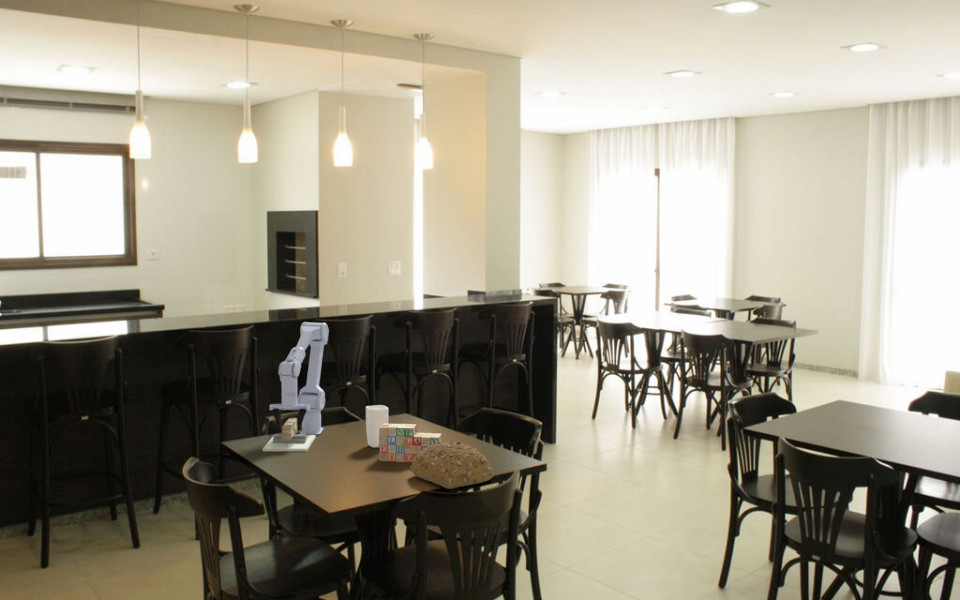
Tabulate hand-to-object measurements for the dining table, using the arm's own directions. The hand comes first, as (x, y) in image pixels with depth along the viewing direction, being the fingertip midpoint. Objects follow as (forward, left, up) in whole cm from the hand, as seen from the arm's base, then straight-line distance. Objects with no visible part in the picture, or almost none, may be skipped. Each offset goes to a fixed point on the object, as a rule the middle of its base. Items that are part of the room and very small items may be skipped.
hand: (289, 428), depth 305 cm
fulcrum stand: (0, 0, -6) cm, 6 cm away
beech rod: (0, 0, -2) cm, 2 cm away
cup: (+3, +33, -6) cm, 34 cm away
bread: (+43, +61, -6) cm, 75 cm away
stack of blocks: (+21, +46, -6) cm, 51 cm away
